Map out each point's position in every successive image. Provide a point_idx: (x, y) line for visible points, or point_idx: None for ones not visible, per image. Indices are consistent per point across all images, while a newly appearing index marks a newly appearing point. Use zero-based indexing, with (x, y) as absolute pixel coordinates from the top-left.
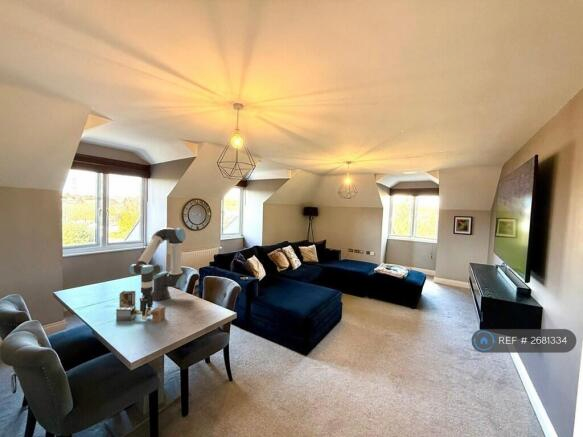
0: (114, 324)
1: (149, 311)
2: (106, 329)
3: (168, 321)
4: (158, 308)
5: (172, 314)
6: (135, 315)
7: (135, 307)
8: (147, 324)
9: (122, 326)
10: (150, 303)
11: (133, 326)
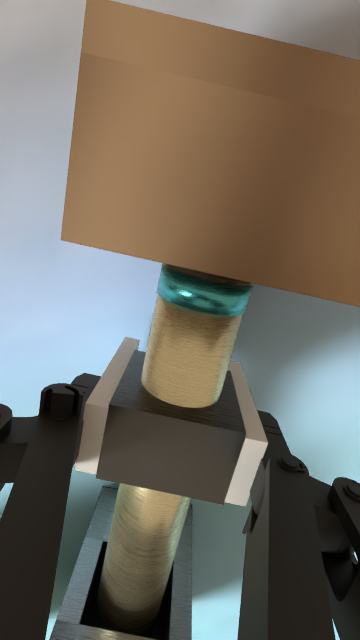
0: (238, 600)
1: (213, 377)
2: None
3: (295, 18)
4: (270, 176)
5: (28, 22)
6: (96, 506)
7: (58, 626)
8: (320, 311)
9: None
10: (52, 482)
11: (331, 443)
